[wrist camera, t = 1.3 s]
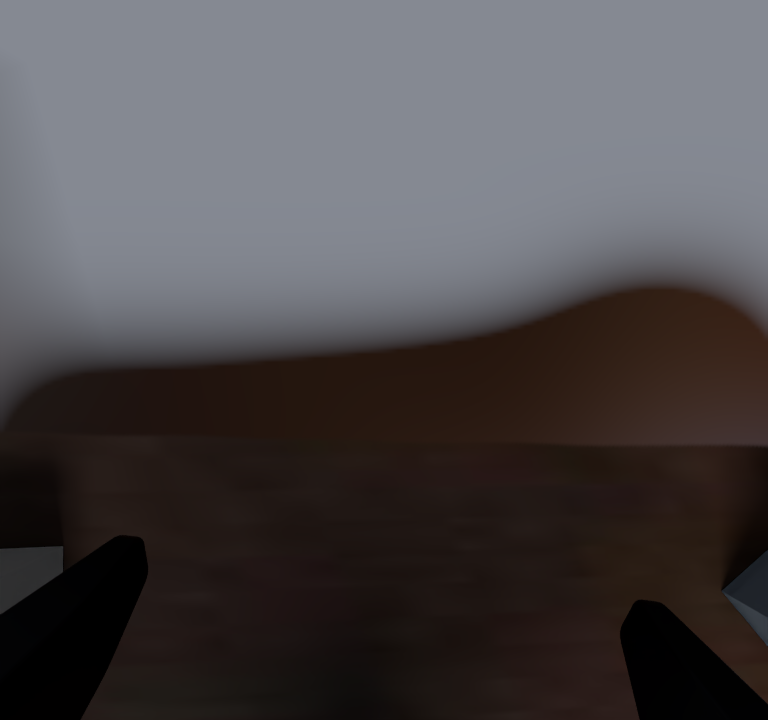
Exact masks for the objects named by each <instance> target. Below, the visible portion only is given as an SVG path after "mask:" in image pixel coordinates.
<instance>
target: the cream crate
mask: <svg viewBox="0 0 768 720" xmlns="http://www.w3.org/2000/svg"><path fill="white" fill-rule="evenodd" d="M62 572H63V546H54V547H32V548H9V549H0V614H2V613H3V612H5V611H6V610H8V609H9V608H11V607H12V606H14V605H15V604H17V603H18V602H19V601H21V600H22V599H24V598H25V597H27V596H28V595H30V594H31V593H33V592H34V591H36V590H37V589H39V588H40V587H42V586H43V585H45V584H46V583H48V582H49V581H50V580H52V579H53V578H55V577H56V576H58V575H59V574H61V573H62Z"/></svg>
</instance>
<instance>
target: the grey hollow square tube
mask: <svg viewBox="0 0 768 720" xmlns="http://www.w3.org/2000/svg"><path fill="white" fill-rule="evenodd" d="M722 592H723V593H724V594H725V596H726V597H727V598H728V599H729V600H730V602H731V603H732V604H733V605H734V606H735V608H736V609H737V610H738V611H739V612H740V614H741V615H742V616H743V617H744V618H745V620H746V621H747V622H748V623H749V624H750V626H751V627H752V628H753V629H754V630H755V632H756V633H757V634H758V635H759V636H760V637H761V639H762V640H763V641H764V642H765V643H766V645H767V646H768V550H767V551H766V552H765V553H763V554H762V555H761V556H760V557H759V558H758V559H757V560H756V561H755V562H753V563H752V564H751V565H750V566H749V567H748V568H747V569H746V570H744V571H743V572H742V573H741V574H740V575H739V576H738V577H737V578H736V579H734V580H733V581H732V582H731V583H730V584H729V585H728V586H727V587H726V588H724V589H723V590H722Z"/></svg>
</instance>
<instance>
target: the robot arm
mask: <svg viewBox="0 0 768 720" xmlns="http://www.w3.org/2000/svg"><path fill="white" fill-rule="evenodd" d="M147 575H148V563H147V557H146V551H145V545H144V541H143V540H142V539H141V538H140V537H135V536H127V535H119V536H116V537H114V538H113V539H111V540H110V541H108V542H107V543H105V544H104V545H102V546H101V547H99V548H98V549H96V550H95V551H93V552H92V553H90V554H89V555H87V556H86V557H84V558H83V559H82V560H80V561H79V562H77V563H76V564H74V565H73V566H71V567H70V568H68V569H67V570H65V571H64V572H62V573H61V574H59V575H58V576H56V577H55V578H53V579H52V580H50V581H49V582H48V583H46V584H45V585H43V586H42V587H40V588H39V589H37V590H36V591H34V592H33V593H31V594H30V595H28V596H27V597H25V598H24V599H22V600H21V601H19V602H18V603H17V604H15V605H14V606H12V607H11V608H9V609H8V610H6V611H5V612H3V613H2V614H0V720H80V719H81V718H82V716H83V714H84V712H85V710H86V708H87V707H88V705H89V703H90V701H91V699H92V698H93V696H94V694H95V692H96V690H97V688H98V686H99V685H100V683H101V681H102V679H103V677H104V675H105V673H106V671H107V669H108V667H109V664H110V662H111V660H112V658H113V656H114V653H115V651H116V649H117V646H118V644H119V642H120V640H121V637H122V635H123V633H124V630H125V628H126V626H127V623H128V621H129V619H130V616H131V614H132V612H133V610H134V607H135V605H136V603H137V600H138V598H139V596H140V593H141V591H142V589H143V586H144V584H145V582H146V579H147ZM620 639H621V644H622V648H623V653H624V657H625V661H626V665H627V669H628V673H629V677H630V681H631V686H632V690H633V694H634V698H635V702H636V706H637V710H638V715H639V719H640V720H768V704H767V703H766V702H765V701H764V700H763V699H762V698H761V697H760V696H759V695H758V694H757V693H756V692H755V691H753V690H752V689H751V688H750V687H749V686H748V685H747V684H746V683H745V682H744V681H743V680H742V679H741V678H740V677H739V676H738V675H737V674H736V673H735V672H734V671H733V670H732V669H731V668H730V667H729V666H728V665H726V664H725V663H724V662H723V661H722V660H721V659H720V658H719V657H718V656H717V655H716V654H715V653H714V652H713V651H712V650H711V649H710V648H709V647H708V646H707V645H706V644H705V643H704V642H703V641H702V640H700V639H699V638H698V637H697V636H696V635H695V634H694V633H693V632H692V631H691V630H690V629H689V628H688V627H687V626H686V625H685V624H684V623H683V622H682V621H681V620H680V619H679V618H678V617H677V616H676V615H674V614H673V613H672V612H671V611H670V610H669V609H668V608H667V607H666V606H665V605H663V604H662V603H660V602H656V601H648V600H637V601H636V602H635V603H634V604H633V606H632V608H631V609H630V611H629V613H628V615H627V617H626V619H625V620H624V622H623V624H622V626H621V631H620Z"/></svg>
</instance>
